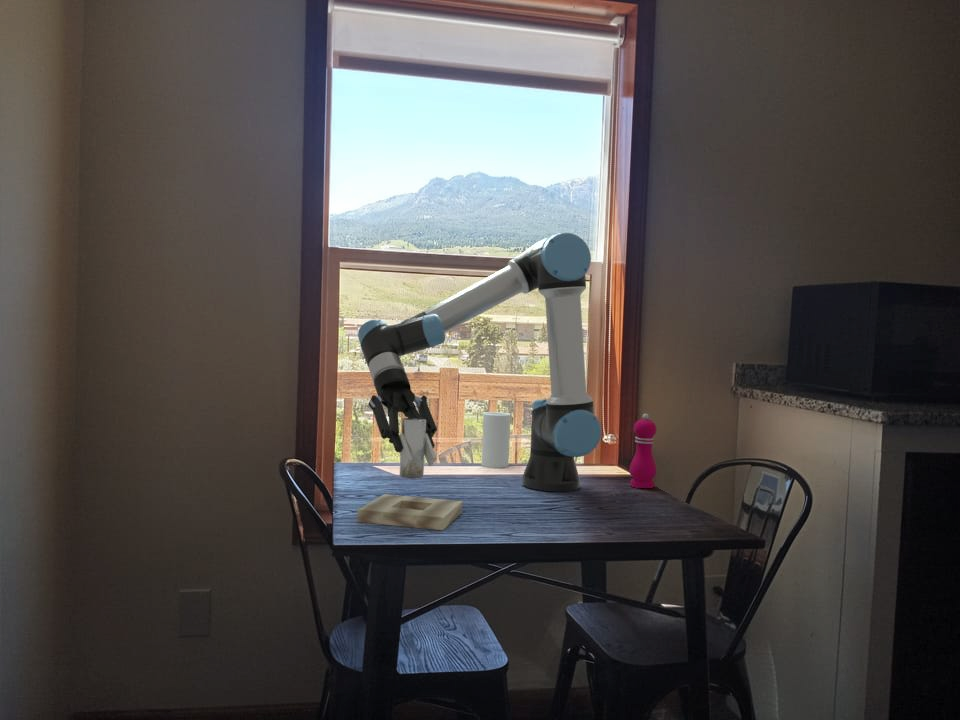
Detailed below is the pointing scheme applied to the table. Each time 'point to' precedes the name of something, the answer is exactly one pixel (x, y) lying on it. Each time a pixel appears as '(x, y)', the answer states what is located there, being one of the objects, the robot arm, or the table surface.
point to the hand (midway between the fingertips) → (420, 462)
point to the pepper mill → (643, 454)
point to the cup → (496, 439)
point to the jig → (410, 512)
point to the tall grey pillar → (414, 447)
